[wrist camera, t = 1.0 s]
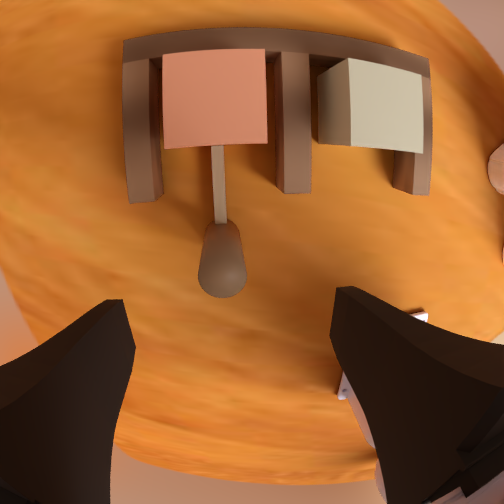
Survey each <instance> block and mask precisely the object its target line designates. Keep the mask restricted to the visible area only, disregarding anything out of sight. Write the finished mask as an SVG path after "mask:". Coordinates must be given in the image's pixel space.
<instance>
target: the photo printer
mask: <svg viewBox="0 0 504 504" xmlns="http://www.w3.org/2000/svg"><path fill="white" fill-rule="evenodd" d="M488 175H489V179H490V182H491V184H492V186H493V187H495V188H496V191H497V192H499V193H501V194H503V195H504V144H502V145H501V146H500V147H499V148H498V149H496V150H495V151H494V152H493V153H492V154H491V156H490V161H489V162H488Z"/></svg>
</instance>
